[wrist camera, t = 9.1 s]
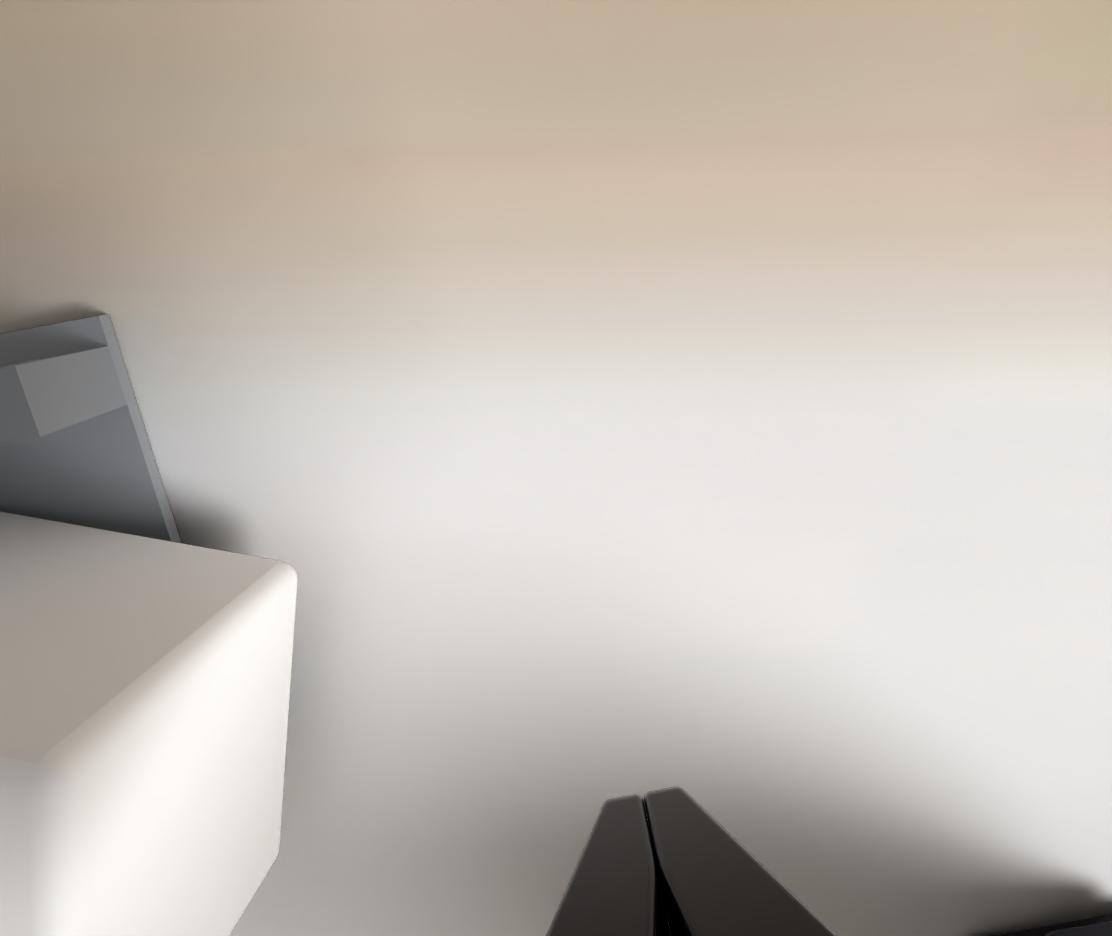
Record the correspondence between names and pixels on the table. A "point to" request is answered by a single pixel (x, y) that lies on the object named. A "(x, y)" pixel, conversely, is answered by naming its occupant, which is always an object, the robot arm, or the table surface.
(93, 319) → the u rest
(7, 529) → the medicine bottle
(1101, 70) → the table surface
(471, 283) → the table surface
